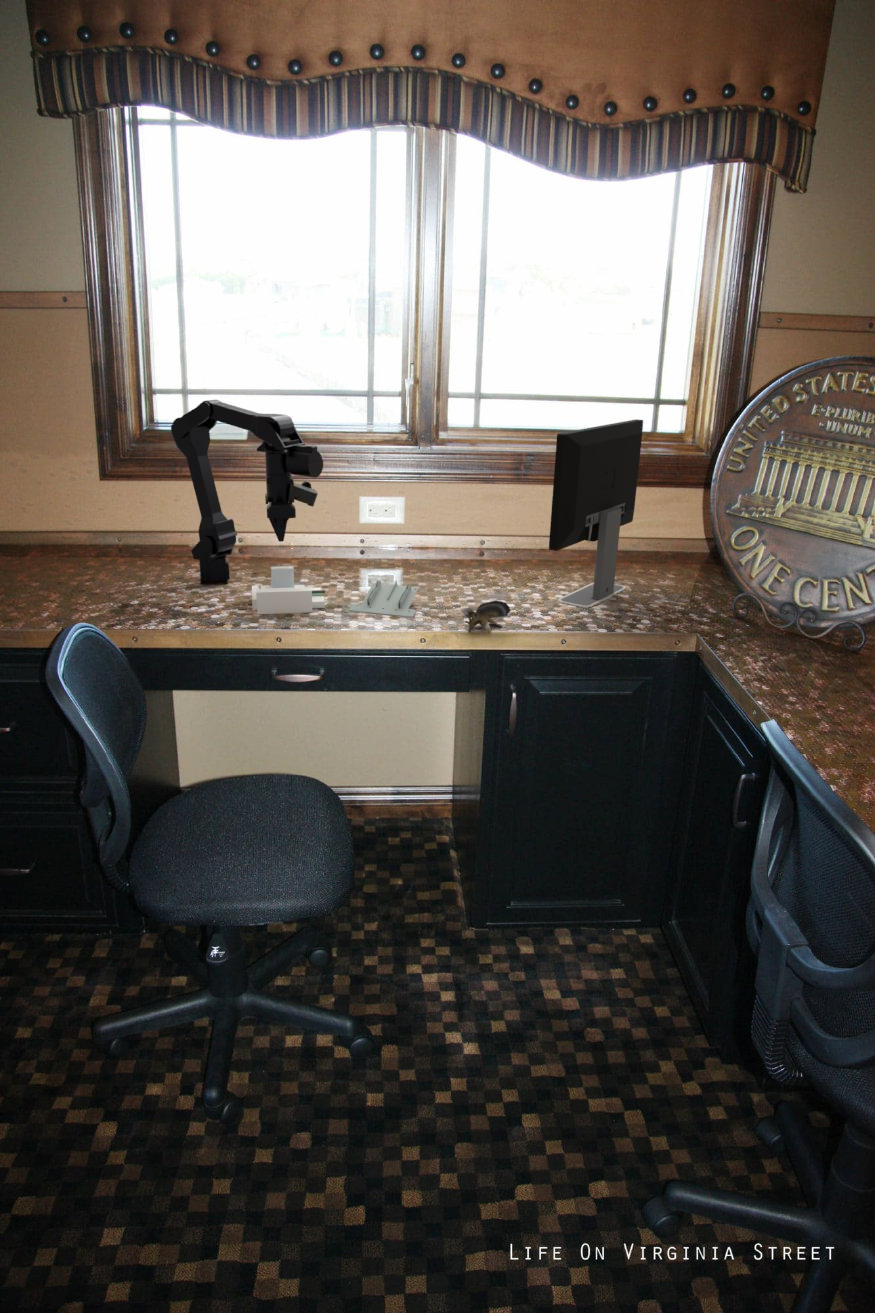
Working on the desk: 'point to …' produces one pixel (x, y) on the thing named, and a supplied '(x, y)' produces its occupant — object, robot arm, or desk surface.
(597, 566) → the computer monitor
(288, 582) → the gauge plunger
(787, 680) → the desk surface
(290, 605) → the gauge housing
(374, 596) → the metal bracket
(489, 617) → the animal figurine
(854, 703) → the desk surface
